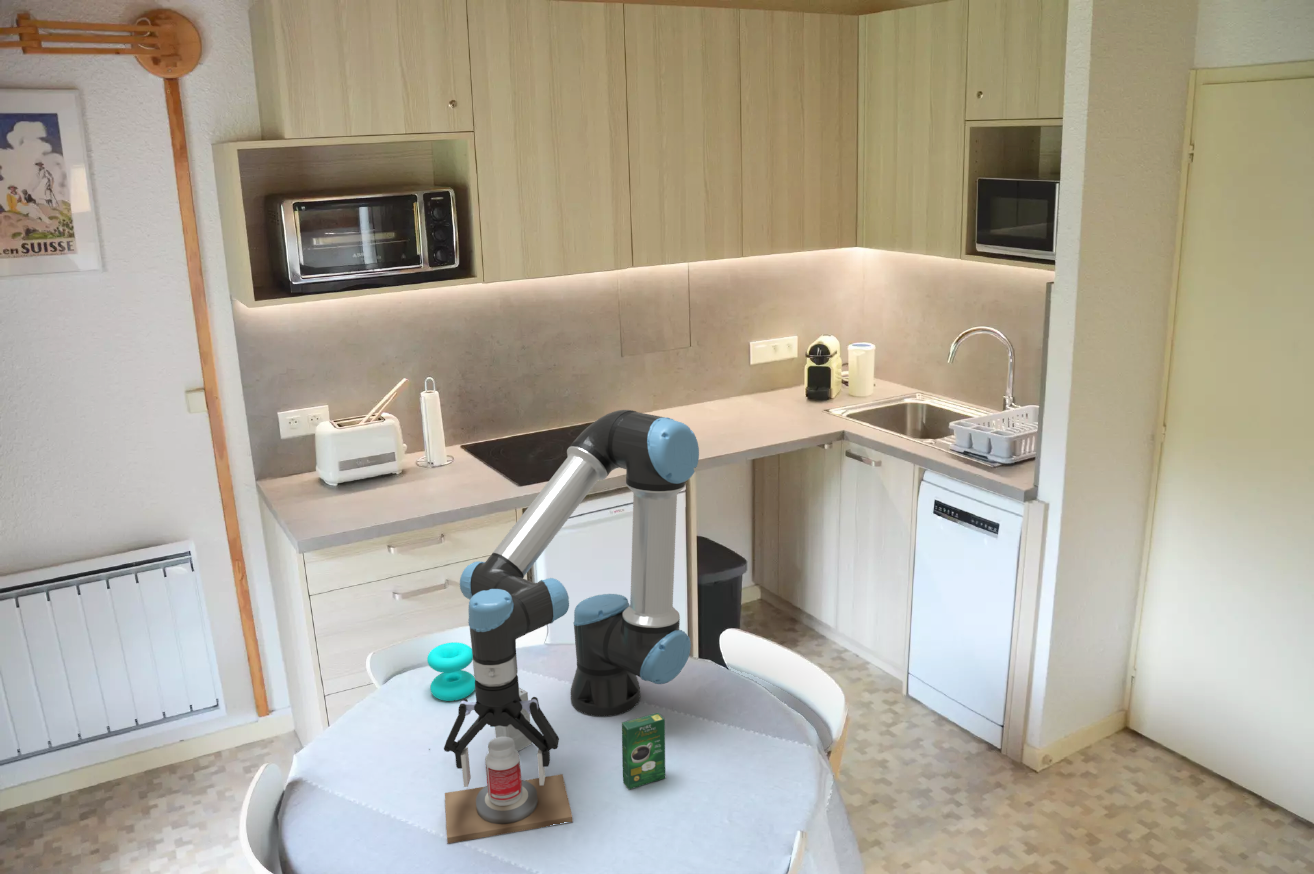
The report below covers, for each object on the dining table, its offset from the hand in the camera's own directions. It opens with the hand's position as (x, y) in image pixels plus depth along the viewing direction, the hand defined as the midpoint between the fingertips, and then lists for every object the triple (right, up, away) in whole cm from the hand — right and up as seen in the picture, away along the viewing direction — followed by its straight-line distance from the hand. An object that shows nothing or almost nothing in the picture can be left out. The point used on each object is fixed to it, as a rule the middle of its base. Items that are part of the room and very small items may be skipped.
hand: (504, 781), depth 186 cm
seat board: (0, -6, +2) cm, 6 cm away
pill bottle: (0, -3, +1) cm, 3 cm away
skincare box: (-1, 0, +21) cm, 21 cm away
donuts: (-17, +6, +42) cm, 46 cm away
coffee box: (+25, -3, +9) cm, 27 cm away
